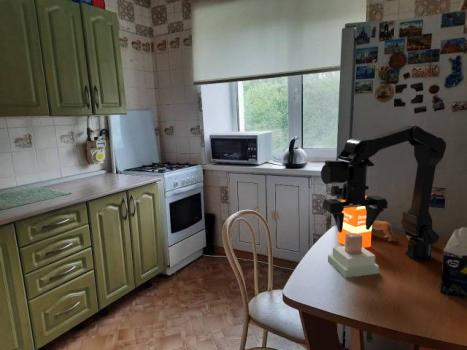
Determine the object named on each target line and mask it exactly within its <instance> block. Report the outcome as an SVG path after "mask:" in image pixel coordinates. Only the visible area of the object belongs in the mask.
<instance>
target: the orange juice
mask: <svg viewBox="0 0 467 350" xmlns="http://www.w3.org/2000/svg"><path fill="white" fill-rule="evenodd" d="M365 199H366V198H365ZM340 202H345V200H342V199H340ZM342 213H344V220H343V229H342V232H341V233H340V232H339V231H338V230H337V242H338V243H340V244H342V246H345V234H347V233H357V234H360V235H362V247H363V248H364V249H366V248H370V247H371V246H372V245H371V243H372V242H371V241H372V233H371V231H372V232H373V229H372V226H371V227H370V229H369V230H367V229H366V208H365V206H360V207H349V208H344V210H343V211H342Z"/></svg>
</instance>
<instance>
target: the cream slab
mask: <svg viewBox="0 0 467 350" xmlns="http://www.w3.org/2000/svg"><path fill="white" fill-rule="evenodd" d="M332 254H333V257H334V258H336V259H337V260H338V261H339V262H340V263H342V264H343V265H344V266H345V267H346V268H356V267H363V266H370V265H375V263H376V255H375V254H374V253H372V252H371V251H369V250H367V249H366V248H363V247H362V253H361V254H349V253H347V252H345V245H341V246H333V247H332Z"/></svg>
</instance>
